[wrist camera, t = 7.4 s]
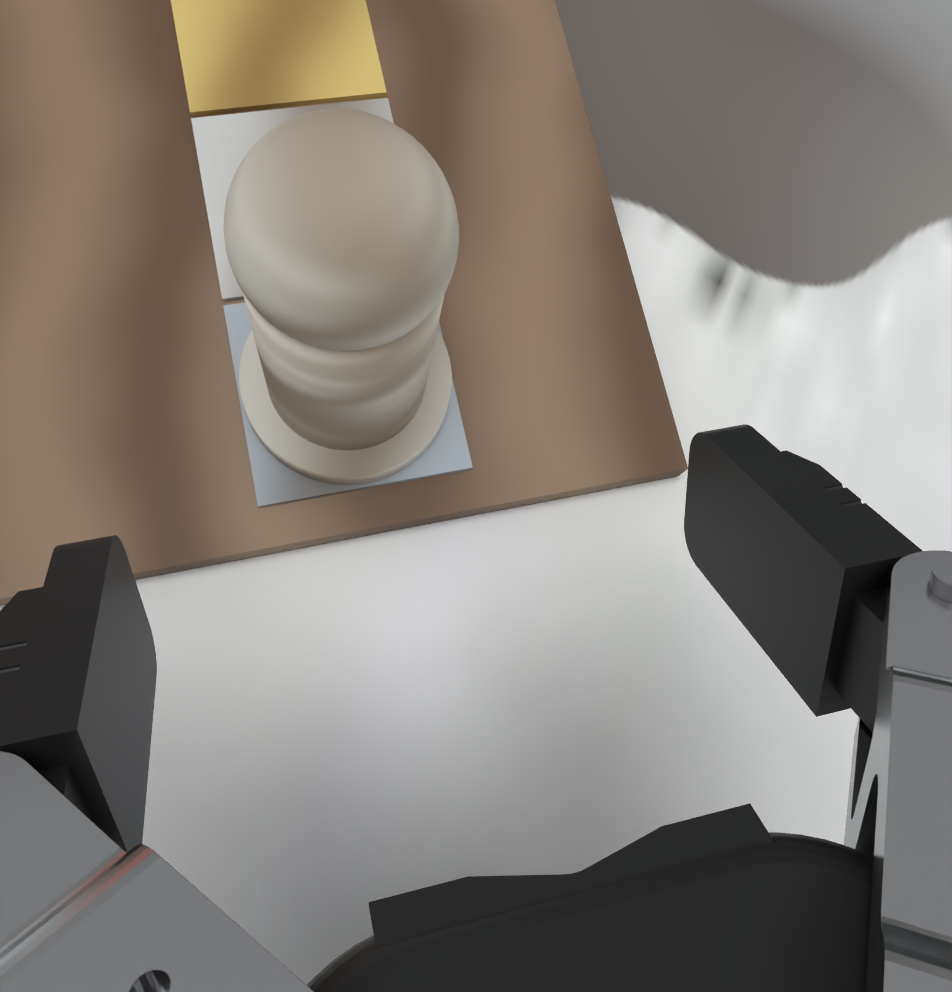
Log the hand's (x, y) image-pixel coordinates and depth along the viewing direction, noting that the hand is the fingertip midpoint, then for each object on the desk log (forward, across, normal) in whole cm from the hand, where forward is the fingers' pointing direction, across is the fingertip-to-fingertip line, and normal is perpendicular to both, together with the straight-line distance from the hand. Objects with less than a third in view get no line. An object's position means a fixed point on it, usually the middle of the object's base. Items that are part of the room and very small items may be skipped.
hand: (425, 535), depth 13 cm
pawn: (+12, 0, +3) cm, 13 cm away
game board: (+18, +4, -1) cm, 18 cm away
